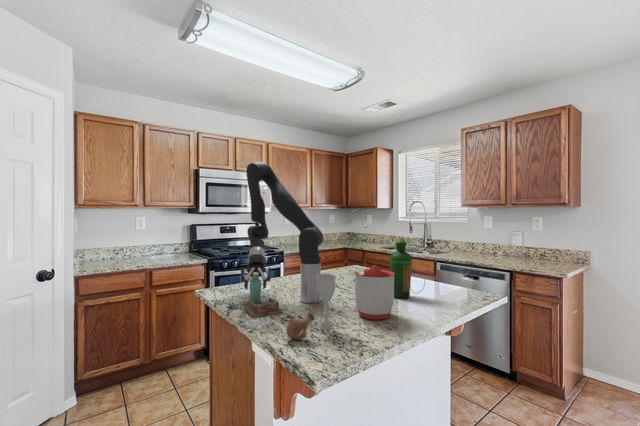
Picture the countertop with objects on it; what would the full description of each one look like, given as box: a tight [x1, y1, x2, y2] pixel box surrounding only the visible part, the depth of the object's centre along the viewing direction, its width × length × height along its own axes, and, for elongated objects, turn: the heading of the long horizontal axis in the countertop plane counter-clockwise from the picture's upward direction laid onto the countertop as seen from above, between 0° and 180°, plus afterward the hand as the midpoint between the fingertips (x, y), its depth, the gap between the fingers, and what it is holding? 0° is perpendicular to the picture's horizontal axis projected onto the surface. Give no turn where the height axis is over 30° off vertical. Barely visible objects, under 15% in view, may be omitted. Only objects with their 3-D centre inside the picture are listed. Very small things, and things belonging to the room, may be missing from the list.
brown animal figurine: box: [285, 312, 315, 341], centre depth 100 cm, size 9×4×8 cm, turn 103°
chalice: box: [316, 273, 337, 330], centre depth 111 cm, size 7×7×18 cm
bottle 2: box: [389, 237, 413, 300], centre depth 151 cm, size 11×11×28 cm
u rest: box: [243, 297, 283, 319], centre depth 128 cm, size 12×12×4 cm
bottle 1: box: [249, 272, 262, 305], centre depth 141 cm, size 5×5×13 cm
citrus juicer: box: [352, 264, 395, 321], centre depth 124 cm, size 16×17×20 cm
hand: (255, 288), depth 139 cm, fingers open, 7 cm apart
